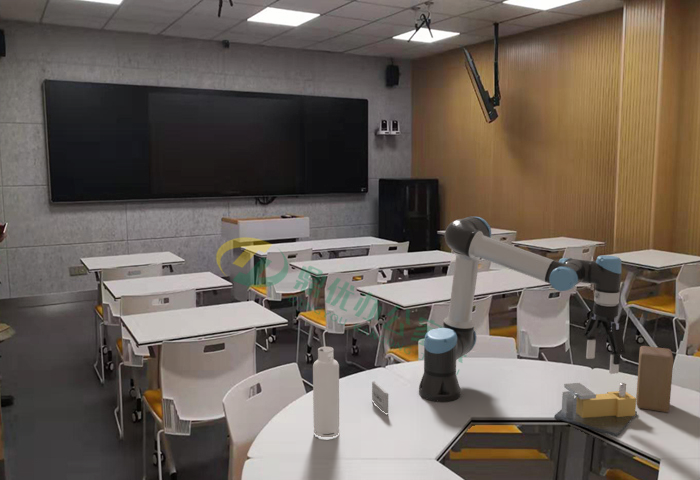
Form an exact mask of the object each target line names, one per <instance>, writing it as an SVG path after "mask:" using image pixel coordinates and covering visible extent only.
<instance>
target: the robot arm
mask: <svg viewBox="0 0 700 480" xmlns="http://www.w3.org/2000/svg"><path fill="white" fill-rule="evenodd" d="M444 240H445V243H446V245H447V246H448V248H449V249H450V250H452V252H453V254H454V255H455V262H454V263H455V264H454V271H453V276H452V277H453V278H452V286H451V292H450V299H449V300H450V301H449V308H448V309H449V310H448V315H447V316H446V317H445V318H444V319H443V323H442V327H437V328H433V329H430V330H428V331H427V332H426V333H425V335H424V341H423V349H424V351H423V374H422V377H421V380H420V383H419V387H418V394H419V395H420V397H422V399H423V398H424V399H426V400H429V401H432V402H440V403H445V402H447V403H448V402H453V401H456V400H458V399H459V398H460V397H461V387H460V383H459V380H458V377H457V360H458V359H460V358H462V357H463V356H466V355H467V354H468V353H470V352H471V350H472V349H473V348H474V347H475V345H476V344H477V343H476V342H477V333H476V330H475V329H474V328H475V323H474V322H473V320H472V314H473V309H474V307H473V306H474V300H475V294H476V293H475V292H476V287H477V286H476V285H477V279H478V278H477V277H478V271H479V265H480V264H479V263H480V260H481V259H483V260H485V261H487V262H490V263H493V264H495V265H498V266H502V267H504V268H507V269H509V270H511V271H515V272H518V273H520V274H522V275H524V276H528V277H531V278H533V279H535V280H539V281H541V282H544V283H547V284H549V285H550V286H551V287H552V288H553V289H554V290H556V291H558V292H566V291H569V290H572V289H573V288H575V287H576V286H577V285H578V284H580V283H581V284H582V283H583V284H590V285H594V293H593V296H594V297H593V301H594V303H593V307H592V312H589V318H588V321H587V323H586V326H585V328H584V330H583V333H582V335H583V336H585V339H586V353H585V354H586V355H585V358H586V359H587V360H588V359H589V360H590V359H595V357H596V339H597V338H596V337H597V335H598V334H600V332H601V331H602V332H603V333H604V335H605V336H606V337H607V341H608V343H609V346H610V350H611V353H610V357H609V359H610V360H609V374H611V375H612V374H619V369H620V363H621V362H620V361H621V355H625V354H626V349H625V343H624V338H623V333H622V324H621V322H615V321H616V320H615V318H617V317H618V316H619V307H620V306H619V304H620V295H621V294H620V293H621V291H620V290H621V282H622V273H623V271H622V259H621V258H620V257H619V256H615V255H598V256H597V258H596V260H585V259H577V258H572V257H569V258H568V257H567V258H565V257H564V258H563V257H561V258H560V259H559V260H558V261H556V260H554V259H552V258H549V257H545V256H543V255H540V254H537V253H534V252H531V251H529V250H525V249H523V248H520V247H518V246H515V245H512V244H509V243H506V242H502V241H501V240H498V239H495V238H492V228H491V226H490V224H489V223H488V222H487V221H486V219H484V218H483V217H479V216H467V217H465V218H460V219H455V220H452V222H450V223H449V224H448V225H447V227H446V229H445V231H444Z"/></svg>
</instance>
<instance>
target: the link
mask: <svg viewBox="0 0 700 480" xmlns="http://www.w3.org/2000/svg"><path fill="white" fill-rule="evenodd" d="M595 394H596V393H595ZM636 406H637V400H636V397H634V396H633V395H632V394H630V393H628V392H627V391H626V393H625V398H619V390H617V391H607V392H606V393H600V394H599V393H597V394H596V398H592V399H579V398H578V397H577V405H576V413H577V414H578V415H580V416H581V417H582V418H587V417H600V416H613V415H616V416H617V417H623V416H635V411H636ZM635 417H636V416H635Z"/></svg>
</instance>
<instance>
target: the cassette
mask: <svg viewBox="0 0 700 480" xmlns="http://www.w3.org/2000/svg"><path fill="white" fill-rule="evenodd" d="M371 385H372V387H371V399H372V400H373V401H374V403H375V404H376V405H377V406H378V407H379V408H380V409H381V410H382V411H384V412H385V413H388V414H389V392H387V391H386V390H385V389H384V388H382V387H381V386H380V385H379V384H378V383H377V382H376V381H372V382H371ZM372 400H371V401H372Z"/></svg>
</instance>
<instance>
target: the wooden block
mask: <svg viewBox="0 0 700 480" xmlns="http://www.w3.org/2000/svg"><path fill="white" fill-rule="evenodd" d="M638 355H639V356H638V369H637V381H636V382H637V383H636V394H635V395H636V397H635V398H636V406H637V408H639V409H645V410H650V411H657V412H662V413H668V412H669V411H670V407H671V405H670V404H671V392H672V383H673V382H672V380H673V367H674V356H673V351H672V350H671V348H666V347H663V348H662V347H656V346H648V345H641V346H640V347H639V354H638Z"/></svg>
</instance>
